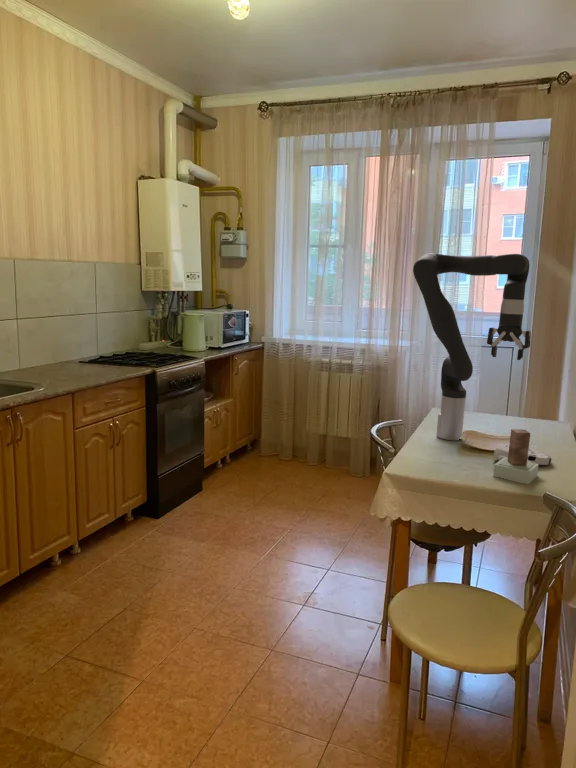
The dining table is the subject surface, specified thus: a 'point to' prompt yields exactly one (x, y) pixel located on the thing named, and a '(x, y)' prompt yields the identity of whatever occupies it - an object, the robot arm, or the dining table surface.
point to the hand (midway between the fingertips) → (506, 358)
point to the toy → (532, 457)
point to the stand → (515, 471)
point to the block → (518, 447)
